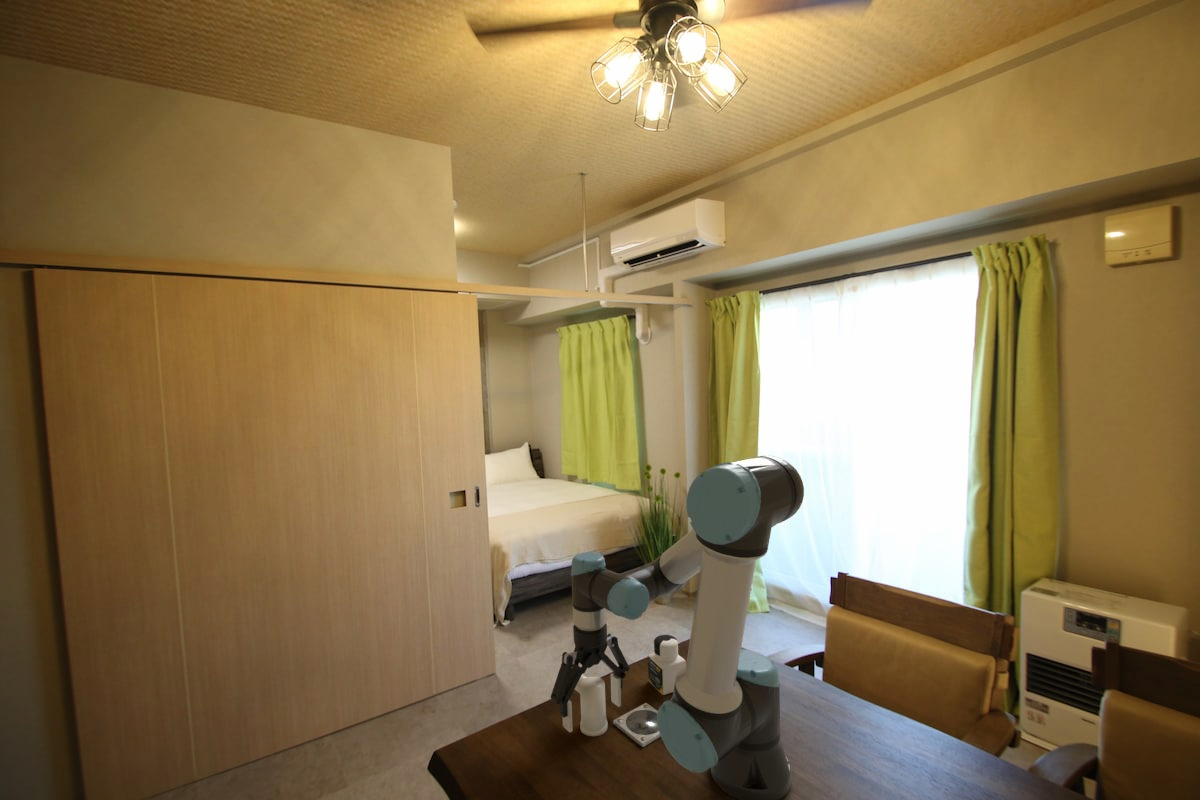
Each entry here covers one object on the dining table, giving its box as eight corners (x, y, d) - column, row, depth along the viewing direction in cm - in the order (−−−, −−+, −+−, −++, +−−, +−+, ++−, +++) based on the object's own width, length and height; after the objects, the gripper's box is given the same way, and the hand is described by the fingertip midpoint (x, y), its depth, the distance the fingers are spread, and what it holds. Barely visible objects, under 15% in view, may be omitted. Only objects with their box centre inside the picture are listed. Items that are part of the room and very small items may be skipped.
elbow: (613, 728, 118) (611, 684, 117) (591, 740, 114) (589, 695, 114) (588, 708, 125) (587, 667, 125) (566, 719, 122) (565, 676, 121)
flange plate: (676, 727, 117) (676, 723, 117) (642, 747, 111) (642, 743, 111) (646, 706, 125) (645, 702, 125) (613, 723, 119) (613, 719, 119)
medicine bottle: (648, 681, 135) (646, 635, 135) (671, 674, 138) (670, 629, 138) (662, 696, 129) (661, 648, 128) (687, 688, 132) (685, 641, 131)
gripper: (622, 602, 128) (624, 687, 129) (532, 635, 113) (536, 731, 114) (642, 612, 122) (645, 701, 123) (551, 649, 107) (554, 750, 108)
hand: (592, 715), depth 118 cm, fingers open, 13 cm apart
